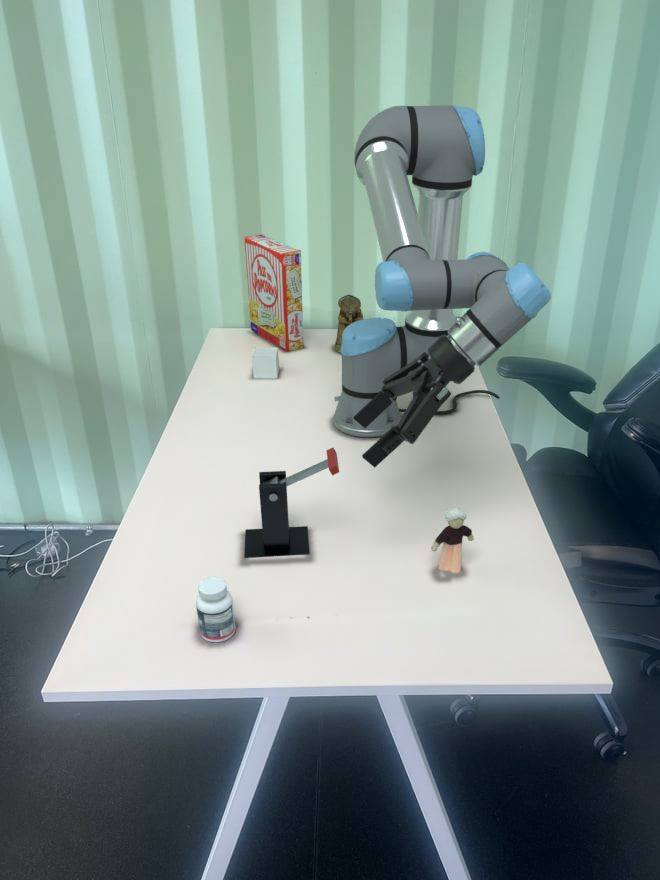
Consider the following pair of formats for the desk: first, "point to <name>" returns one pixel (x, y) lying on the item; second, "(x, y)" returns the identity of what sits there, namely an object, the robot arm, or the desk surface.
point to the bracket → (275, 524)
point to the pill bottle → (215, 610)
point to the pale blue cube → (265, 362)
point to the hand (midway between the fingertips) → (363, 441)
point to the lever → (311, 470)
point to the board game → (275, 291)
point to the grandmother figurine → (452, 540)
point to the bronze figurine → (347, 316)
